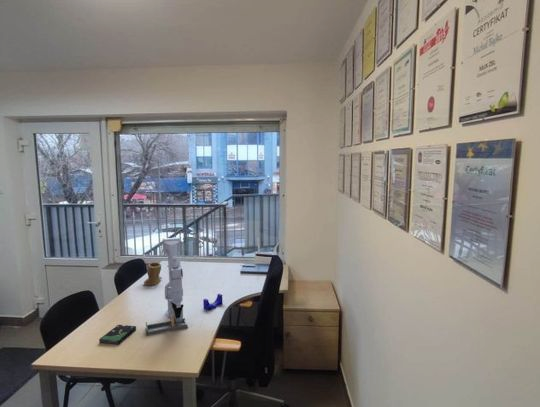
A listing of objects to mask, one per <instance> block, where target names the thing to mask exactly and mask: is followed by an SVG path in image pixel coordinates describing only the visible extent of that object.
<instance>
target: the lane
mask: <svg viewBox="0 0 540 407" xmlns="http://www.w3.org/2000/svg"><path fill="white" fill-rule="evenodd" d="M188 328H189V326H188V323H187V321H186V318H185V317H183V321H182V322H178V323H176V322H174V326H173V327H172V326H171V320H167V321H161V322H156V323H150V324H148V322H147V321H146V322H145V328H144V329H145V330H144V331H145V336H146V337H147V336H154V335H157V334H164V333H169V332H174V331H179V330H184V329H188Z"/></svg>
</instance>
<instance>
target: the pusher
mask: <svg viewBox="0 0 540 407" xmlns="http://www.w3.org/2000/svg"><path fill="white" fill-rule="evenodd" d="M170 321H171V326H172V327H173V326H174V317H173V314H171V317H170Z"/></svg>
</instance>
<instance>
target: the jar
mask: <svg viewBox="0 0 540 407" xmlns="http://www.w3.org/2000/svg"><path fill="white" fill-rule="evenodd" d="M183 308H184V307H183ZM183 308H182V311H181V316H180V318H176V317H175V312H174V309H173V317H174V322H176V323H178V322H182V321H183V318H184V309H183Z"/></svg>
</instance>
